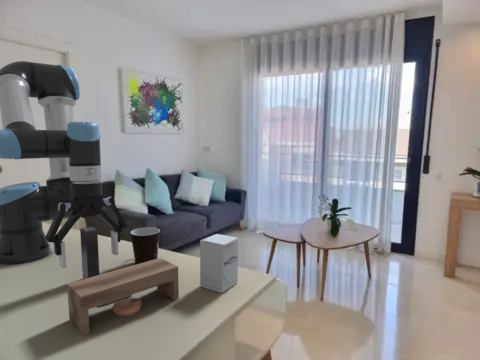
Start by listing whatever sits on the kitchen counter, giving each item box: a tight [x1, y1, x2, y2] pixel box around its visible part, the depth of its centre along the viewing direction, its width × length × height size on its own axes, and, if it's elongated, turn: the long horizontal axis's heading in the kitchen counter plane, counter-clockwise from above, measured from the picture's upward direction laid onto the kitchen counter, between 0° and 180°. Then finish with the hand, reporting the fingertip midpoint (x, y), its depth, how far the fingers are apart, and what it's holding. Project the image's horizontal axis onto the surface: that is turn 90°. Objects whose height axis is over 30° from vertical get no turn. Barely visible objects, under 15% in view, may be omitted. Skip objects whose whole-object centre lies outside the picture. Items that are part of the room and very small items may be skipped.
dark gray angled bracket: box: [79, 226, 133, 307], centre depth 84 cm, size 18×7×14 cm, turn 44°
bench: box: [66, 257, 180, 337], centre depth 75 cm, size 8×22×8 cm, turn 134°
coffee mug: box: [130, 227, 161, 265], centre depth 103 cm, size 12×9×10 cm
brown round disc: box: [112, 297, 142, 317], centre depth 75 cm, size 6×6×1 cm
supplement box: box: [199, 233, 239, 294], centre depth 87 cm, size 7×7×13 cm
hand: (90, 260), depth 90 cm, fingers open, 13 cm apart
